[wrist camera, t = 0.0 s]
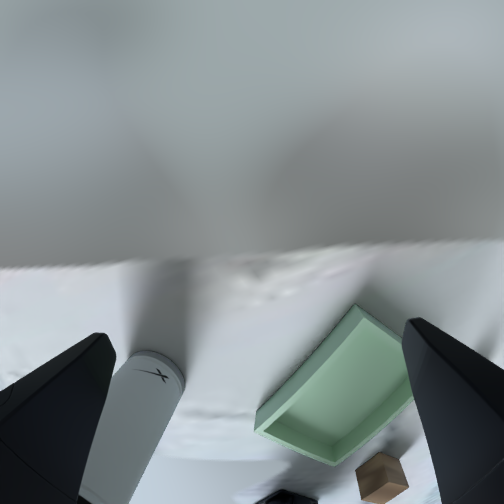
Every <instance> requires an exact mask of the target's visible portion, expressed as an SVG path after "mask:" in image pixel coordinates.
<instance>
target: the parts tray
mask: <svg viewBox="0 0 504 504" xmlns="http://www.w3.org/2000/svg"><path fill="white" fill-rule="evenodd" d="M413 400H414V397H413V393H412V390H411V386H410V381H409V377H408V372H407V368H406V363H405V359H404V355H403V351H402V338H401V337H400V336H398V335H397V334H395V333H394V332H393V331H391V330H390V329H389V328H387V327H386V326H385V325H383V324H382V323H381V322H379V321H378V320H377V319H375V318H374V317H373V316H371V315H370V314H368V313H367V312H366V311H364V310H363V309H362V308H360V307H359V306H358V305H356V304H354V305H353V306H352V307H351V309H350V310H349V311H348V312H347V314H346V315H345V316H344V317H343V319H342V320H341V321H340V322H339V323H338V325H337V326H336V327H335V328H334V329H333V330H332V332H331V333H330V334H329V335H328V336H327V337H326V339H325V340H324V341H323V342H322V343H321V344H320V346H319V347H318V348H317V349H316V350H315V351H314V352H313V353H312V355H311V356H310V357H309V358H308V359H307V360H306V361H305V362H304V363H303V364H302V365H301V367H300V368H299V369H298V370H297V371H296V372H295V373H294V374H293V375H292V376H291V377H290V378H289V379H288V380H287V381H286V382H285V383H284V384H283V386H282V387H281V388H280V389H279V390H278V391H277V392H276V393H275V394H274V395H273V396H272V397H271V398H270V399H269V400H268V401H267V402H266V403H265V404H264V405H263V406H261V407H260V408H259V409H258V410H257V411H256V418H255V425H254V432H255V433H257V434H259V435H261V436H263V437H265V438H267V439H269V440H271V441H274V442H276V443H278V444H280V445H282V446H284V447H287V448H289V449H291V450H293V451H296V452H298V453H300V454H303V455H305V456H307V457H310V458H312V459H315V460H317V461H320V462H322V463H325V464H328V465H330V466H333V467H336V466H337V465H338V464H340V463H341V462H342V461H344V460H345V459H346V458H348V457H349V456H350V455H352V454H353V453H354V452H356V451H357V450H358V449H359V448H361V447H362V446H363V445H364V444H366V443H367V442H368V441H369V440H370V439H372V438H373V437H374V436H375V435H376V434H378V433H379V432H380V431H381V430H382V429H383V428H384V427H385V426H387V425H388V424H389V423H390V422H391V421H392V420H393V419H394V418H395V417H396V416H398V415H399V414H400V413H401V412H402V411H403V410H404V409H405V408H406V407H407V406H408V405H409V404H410V403H411V402H412V401H413Z"/></svg>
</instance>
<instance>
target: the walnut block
mask: <svg viewBox="0 0 504 504" xmlns="http://www.w3.org/2000/svg"><path fill="white" fill-rule="evenodd" d="M355 472H356V476H357V481H358V486H359V491H360V496H361V500H363V501H368V502H372V503H377V504H385V503H386V502H388V501H390V500H391V499H393V498H394V497H396V496H397V495H399V494H400V493H402V492H403V491H404V490H406V489H407V488H409V485H408V482H407V480H406V477H405V474H404V471H403V469H402V466H401V463H400V461H399V459H397V458H394V457H391V456H388V455H386V454H383V453H381V452H379V453H378V454H376V455H375V456H374V457H372V458H371V459H370V460H369V461H367V462H366V463H365V464H363V465H362V466H361V467H359V468H358V469H356V470H355Z"/></svg>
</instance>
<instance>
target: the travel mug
mask: <svg viewBox="0 0 504 504" xmlns="http://www.w3.org/2000/svg"><path fill="white" fill-rule="evenodd" d="M184 388H185V383H184V379H183V376H182V374H181V372H180V370H179V369H178V367H177V366H176V365H175V364H174V363H173V362H172V361H171V360H169V359H168V358H167V357H165V356H163V355H161V354H159V353H156V352H151V351H140V352H137V353H135V354H133V355H132V356H131V357H130V358H129V359H128V360H127V361H126V362H125V363H124V365H122V367H121V368H120V369H119V370H118V371H117V372H116V373H115V374H114V375H113V377H112V378H111V382H110V386H109V391H108V395H107V398H106V402H105V405H104V408H103V411H102V414H101V417H100V420H99V423H98V426H97V429H96V433H95V436H94V439H93V443H92V446H91V449H90V453H89V456H88V460H87V463H86V467H85V471H84V475H83V478H82V482H81V486H80V490H79V494H78V499H77V504H129V501H130V500H131V498H132V496H133V493H134V491H135V490H136V487H137V485H138V483H139V481H140V479H141V477H142V475H143V473H144V471H145V469H146V467H147V465H148V463H149V461H150V459H151V457H152V455H153V453H154V451H155V449H156V447H157V445H158V443H159V441H160V439H161V437H162V435H163V433H164V431H165V429H166V427H167V425H168V423H169V421H170V419H171V417H172V415H173V413H174V411H175V408H176V406H177V404H178V402H179V400H180V398H181V396H182V394H183V392H184Z"/></svg>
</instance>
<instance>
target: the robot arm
mask: <svg viewBox="0 0 504 504" xmlns="http://www.w3.org/2000/svg"><path fill="white" fill-rule="evenodd" d="M402 351H403V355H404V359H405V363H406V368H407V372H408V377H409V381H410V386H411V390H412V393H413V397H414V400H415V403H416V406H417V409H418V412H419V416H420V419H421V422H422V425H423V429H424V432H425V436H426V439H427V443H428V446H429V450H430V454H431V458H432V462H433V466H434V470H435V474H436V478H437V483H438V487H439V492H440V497H441V502H442V504H504V370H503V369H502V368H500V367H499V366H497V365H496V364H494V363H493V362H491V361H489V360H488V359H486V358H485V357H483V356H482V355H480V354H479V353H477V352H475V351H474V350H472V349H471V348H469V347H468V346H466V345H464V344H463V343H461V342H460V341H458V340H457V339H455V338H453V337H452V336H450V335H449V334H447V333H445V332H444V331H442V330H440V329H439V328H437V327H436V326H434V325H432V324H431V323H429V322H428V321H426V320H424V319H423V318H420V317H417V318H411V319H408V320H407V322H406V325H405V329H404V333H403V338H402ZM115 362H116V352H115V350H114V348H113V346H112V344H111V341H110V339H109V337H108V335H107V334H105V333H93V334H91V335H90V336H88V337H87V338H85V339H83V340H82V341H80V342H78V343H77V344H75V345H74V346H72V347H70V348H69V349H67V350H66V351H64V352H62V353H61V354H59V355H58V356H56V357H54V358H53V359H51V360H50V361H48V362H46V363H45V364H43V365H42V366H40V367H38V368H37V369H35V370H34V371H32V372H30V373H29V374H27V375H26V376H24V377H23V378H21V379H19V380H18V381H16V382H15V383H13V384H11V385H10V386H8V387H7V388H5V389H4V390H2V391H0V504H77V499H78V494H79V490H80V486H81V482H82V478H83V475H84V471H85V467H86V463H87V460H88V456H89V453H90V449H91V446H92V443H93V439H94V436H95V433H96V429H97V426H98V423H99V420H100V417H101V414H102V411H103V408H104V405H105V402H106V398H107V395H108V391H109V386H110V382H111V378H112V374H113V370H114V366H115ZM257 504H318V501H316V500H313V499H310V498H306V497H303V496H300V495H297V494H294V493H291V492H288V491H285V490H280V491H278V492H276V493H274V494H273V495H271V496H269V497H268V498H266V499H264V500H262V501H260V502H259V503H257Z"/></svg>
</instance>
